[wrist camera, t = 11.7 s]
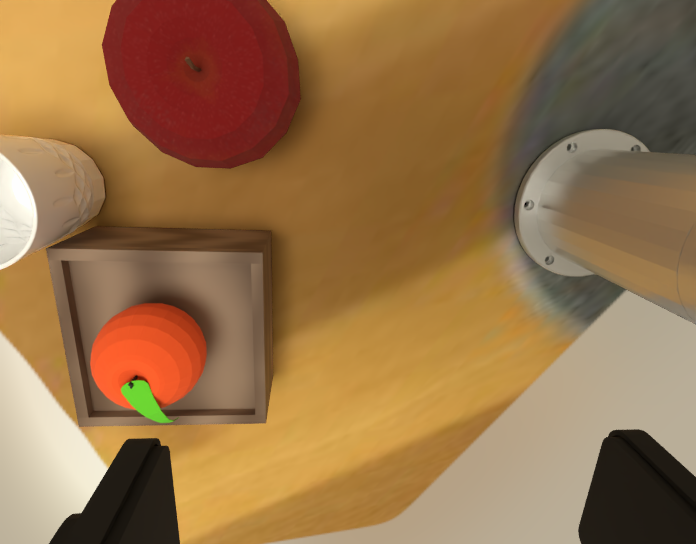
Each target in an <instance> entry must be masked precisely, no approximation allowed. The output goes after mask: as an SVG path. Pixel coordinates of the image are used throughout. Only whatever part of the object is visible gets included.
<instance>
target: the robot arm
mask: <svg viewBox="0 0 696 544" xmlns="http://www.w3.org/2000/svg"><path fill="white" fill-rule="evenodd" d="M567 146H568V149H567ZM525 202H527V204H526V205H525V206H524V204H525ZM514 222H515V228H516V233H517V236H518V239H519V241H520V244H521V246H522V247H523V249H524V250H525V252H526V253H527V255H528V256H529V257H530V258H531V259H532V260H534V261H535V262H536V263H537V264H539V265H540V266H542V267H543V268H545V269H547V270H549V271H551V272H553V273H556V274H559V275H564V276H571V277H582V276H588V275H594V274H597V275H599V276H600V277H602V278H604V279H606V280H608V281H610V282H612V283H614V284H616V285H618V286H620V287H622V288H624V289H626V290H628V291H630V292H632V293H634V294H636V295H638V296H640V297H642V298H644V299H646V300H648V301H650V302H652V303H654V304H656V305H658V306H660V307H662V308H664V309H666V310H668V311H670V312H672V313H674V314H676V315H678V316H680V317H682V318H684V319H686V320H688V321H690V322H692V323H694V324H696V155H690V154H674V153H658V152H650V151H649V149H648V148H647V147H646V146H645V145H644V144H643V143H642V142H641V141H639V140H638V139H636V138H635V137H634V136H632V135H629V134H627V133H624V132H622V131H617V130H610V129H592V130H586V131H580V132H577V133H574V134H572V135H569V136H566V137H565V138H563V139H561V140H559V141H558V142H556V143H554V144H553V145H552V146H550V147H549V148H548V149H547V150H546V151H544V152H543V153H542V154H541V155H540V156H539V157H538V158H537V160H536V161H535V162H534V163H533V164H532V165H531V167H530V169H529V170H528V172H527V174H526V175H525V177H524V178H523V181H522V183H521V186H520V188H519V191H518V194H517V198H516V203H515V213H514ZM545 258H546V259H545ZM578 532H579V538H580V541H581V544H696V477H695V476H694V475H693V474H692V473H691V472H689V471H688V470H687V469H686V468H685V467H684V466H683V465H682V464H681V463H680V462H679V461H677V460H676V459H675V458H674V457H673V456H672V455H671V454H670V453H668V452H667V451H666V450H665V449H664V448H663V447H662V446H661V445H660V444H659V443H657V442H656V441H655V440H654V439H653V438H652V437H651V436H650V435H648V434H647V433H646V432H645V431H642V430H613V431H612V432H610V434H609V436H608V437H606V438H605V439H604V440H603V442H602V446H601V449H600V453H599V457H598V460H597V464H596V467H595V471H594V475H593V478H592V482H591V485H590V489H589V492H588V496H587V499H586V503H585V507H584V510H583V514H582V517H581V521H580V524H579V530H578ZM49 544H180V540H179V531H178V522H177V513H176V504H175V495H174V486H173V477H172V468H171V459H170V451H169V447H168V446H161V444H160V441H159V439H157V438H148V439H128V440H126V441H125V443H124V444H123V446H122V447H121V449H120V451H119V452H118V454H117V455H116V457H115V459H114V460H113V462H112V464H111V465H110V467H109V469H108V470H107V472H106V474H105V475H104V477H103V479H102V480H101V482H100V484H99V486H98V487H97V488H96V490H95V492H94V494H93V495H92V497H91V498H90V500H89V502H88V503H87V505H86V507H85V508H84V510H83V512H82V513H79V514H72V515H70V516H69V517H68V518H66V520H65V521H64V522H63V523H62V525H61V526H60V527H59V529H58V531H57V532H56V534H55V535H54V537H53V538H52V540H51V541H50V543H49Z"/></svg>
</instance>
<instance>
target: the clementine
mask: <svg viewBox="0 0 696 544" xmlns="http://www.w3.org/2000/svg"><path fill="white" fill-rule="evenodd" d="M206 356H207V348H206V341H205V338H204V336H203V333H202V331H201V329H200V327H199V326H198V324H197V323H196V322H195V320H194V319H193V318H192V317H191V316H189V315H188V314H187V313H186V312H185V311H183V310H181V309H179V308H177V307H175V306H171V305H167V304H163V303H144V304H140V305H135V306H131V307H129V308H127V309H126V310H124V311H122V312H120V313H118V314H117V315H115V316H113V317H112V318H111V319H110V320H109V321H108V322H107V323H106V324H105V325H104V326H103V327H102V329H101V330H100V332H99V334H98V335H97V337H96V339H95V341H94V343H93V346H92V352H91V360H90V366H91V372H92V376H93V378H94V380H95V383H96V385H97V386H98V388H99V389H100V390H101V391H102V392H103V394H104V395H105V396H106V397H107V398H108V399H110V400H111V401H113V402H114V403H115V404H118V405H120V406H122V407H125V408H129V409H134V410H137V411H138V412H139V413H141V414H142V415H144V416H145V417H147V418H149V419H151V420H153V421H156V422H159V423H170V422H173V421H175V420H176V419H178V418H179V417H178V418H176V419H174V420H170V419H168V418H167V417H166V416H165V414H164V413H163V412H162V411H161V409H160V408H163V407H166V406H168V405H170V404H172V403H174V402H176V401H178V400H180V399H181V398H183V397H184V396H185V395H186V394H187V393H188V392H190V391H191V390H192V389H193V387H194V386H195V384H196V383H197V381H198V380H199V378H200V376H201V375H202V373H203V370H204V366H205V362H206Z"/></svg>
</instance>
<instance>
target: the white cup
mask: <svg viewBox="0 0 696 544" xmlns="http://www.w3.org/2000/svg"><path fill="white" fill-rule="evenodd" d="M104 200H105V188H104V178H103V176H102V174H101V173H100V171H99V169H98V168H97V166H96V164H95V162H94V161H93V159H92V158H90V157H89V156H88V155H87V154H85V153H84V152H83V151H81V150H80V149H79V148H78V147H76V146H75V145H72V144H68V143H65V142H61V141H58V140H54V139H40V138H34V137H26V136H14V135H2V134H0V269H3V268H6V267H8V266H10V265H12V264H14V263H16V262H18V261H19V260H21V259H23V258H25V257H27V256H29V255H31V254H33V253H35V252H37V251H39V250H41V249H43V248H45V247H47V246H49V245H51V244H52V243H54V242H56V241H57V240H59V239H61V238H63V237H65V236H66V235H68V234H70V233H72V232H73V231H75V230H76V229H77V228H79V227H81V226H83V225H85V224H86V223H87V222H89V221H90V220H91V219H92V218H94V217H95V216H96V215H98V214H99V212H100V209H101V207H102V204H103V202H104Z"/></svg>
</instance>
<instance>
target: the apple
mask: <svg viewBox="0 0 696 544" xmlns="http://www.w3.org/2000/svg"><path fill="white" fill-rule="evenodd" d="M102 48H103V53H104V58H105V64H106V69H107V74H108V80H109V85H110V87H111V89H112V90H113V92H114V94H115V96H116V98H117V100H118V101H119V103H120V105H121V107H122V109H123V110H124V112H125V114H126V116H127V118H128V120H129V121H130V122H131V124H132V125H133V126H134V127H135V128H136V129H137V130H138V131H139V132H141V133H142V134H143V135H144V136H145V137H146V138H147V139H148V140H149V141H150V142H152V143H153V144H154V145H155V146H156V147H157V148H158V149H159V150H160V151H162V152H163V153H165V154H168V155H170V156H172V157H174V158H177V159H179V160H181V161H184V162H186V163H188V164H190V165H193V166H195V167H209V168H233V167H236V166H239V165H242V164H245V163H248V162H251V161H254V160H257V159H260V158H263V157H264V155H265V154H266V153H267V152H268V151H269V150H270V149H271V148H272V147H273V146H274V145H275V144H276V143H277V142H278V141H279V140H280V139H281V138H282V137H283V136H284V135H285V134H286V132H287V130H288V128H289V125H290V123H291V121H292V118H293V116H294V114H295V111H296V109H297V106H298V104H299V102H300V99H301V97H300V82H299V67H298V59H297V56H296V53H295V50H294V47H293V44H292V42H291V39H290V36H289V33H288V30H287V27H286V24H285V22H284V21H283V19H282V18H281V17H280V16H279V15H278V13H277V12H276V11H275V10H274V9H273V8H272V6H271V5H270V4H269V3H268V2H267V0H116V2H115V3H114V4H113V5H112V7H111V11H110V15H109V19H108V23H107V27H106V31H105V35H104V39H103V43H102Z"/></svg>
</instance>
